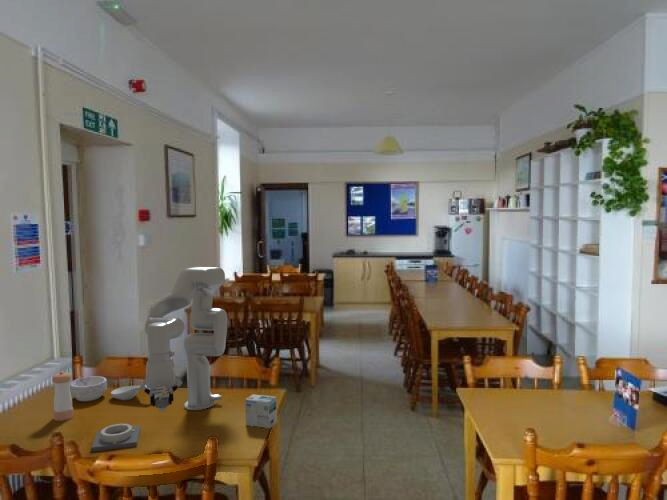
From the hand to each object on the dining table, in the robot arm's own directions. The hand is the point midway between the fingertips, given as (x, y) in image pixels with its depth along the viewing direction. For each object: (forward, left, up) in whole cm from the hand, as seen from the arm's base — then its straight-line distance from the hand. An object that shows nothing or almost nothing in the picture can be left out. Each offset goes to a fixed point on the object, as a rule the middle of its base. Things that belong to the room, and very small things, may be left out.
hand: (162, 403), depth 192 cm
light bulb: (0, 0, -3) cm, 3 cm away
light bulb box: (-37, -2, -13) cm, 39 cm away
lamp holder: (+16, -3, -13) cm, 21 cm away
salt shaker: (+40, -33, -13) cm, 54 cm away
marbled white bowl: (+34, -55, -13) cm, 66 cm away
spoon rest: (+14, -47, -13) cm, 51 cm away
